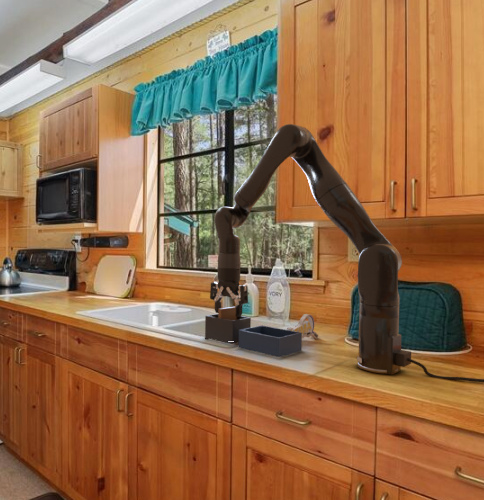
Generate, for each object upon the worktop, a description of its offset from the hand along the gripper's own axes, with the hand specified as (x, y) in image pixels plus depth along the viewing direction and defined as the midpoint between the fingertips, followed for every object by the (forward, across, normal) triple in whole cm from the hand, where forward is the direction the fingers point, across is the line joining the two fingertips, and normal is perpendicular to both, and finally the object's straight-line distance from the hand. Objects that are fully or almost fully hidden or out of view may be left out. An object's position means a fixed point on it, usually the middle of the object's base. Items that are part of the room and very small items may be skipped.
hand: (228, 314), depth 147 cm
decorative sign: (+9, +17, +18) cm, 26 cm away
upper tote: (+9, 0, 0) cm, 9 cm away
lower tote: (+9, +17, -1) cm, 19 cm away
